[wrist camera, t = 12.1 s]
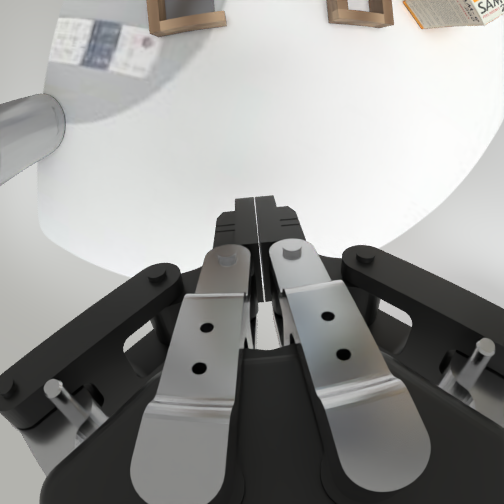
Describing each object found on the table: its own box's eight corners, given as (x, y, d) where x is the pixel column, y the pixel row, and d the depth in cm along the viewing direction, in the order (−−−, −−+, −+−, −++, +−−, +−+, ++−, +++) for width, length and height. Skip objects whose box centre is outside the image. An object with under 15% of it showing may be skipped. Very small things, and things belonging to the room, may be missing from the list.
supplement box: (421, 31, 28) (485, 28, 17) (401, 1, 26) (460, -14, 15) (456, 10, 25) (519, 7, 14) (437, -18, 23) (498, -31, 12)
